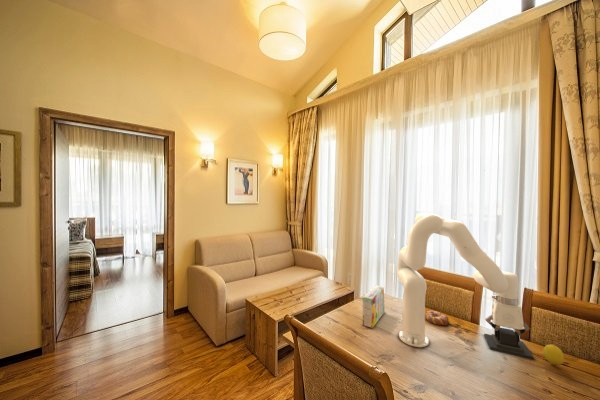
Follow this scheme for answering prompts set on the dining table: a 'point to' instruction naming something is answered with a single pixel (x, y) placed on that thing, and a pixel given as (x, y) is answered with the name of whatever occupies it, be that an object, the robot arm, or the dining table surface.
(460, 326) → the dining table surface
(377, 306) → the snack box
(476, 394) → the dining table surface
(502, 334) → the black block
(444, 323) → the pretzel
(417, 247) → the robot arm
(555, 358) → the lemon
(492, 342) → the base pad
